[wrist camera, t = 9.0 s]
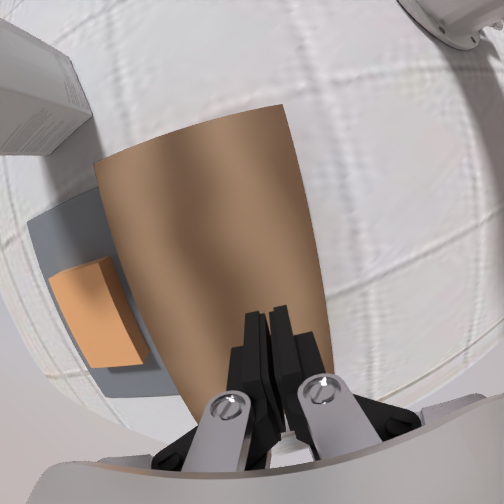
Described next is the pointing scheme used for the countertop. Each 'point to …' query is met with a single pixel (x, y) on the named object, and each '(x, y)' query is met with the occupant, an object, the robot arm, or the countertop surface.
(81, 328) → the tan foam pad
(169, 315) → the brown wooden block
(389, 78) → the countertop surface
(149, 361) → the mat
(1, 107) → the skincare box
